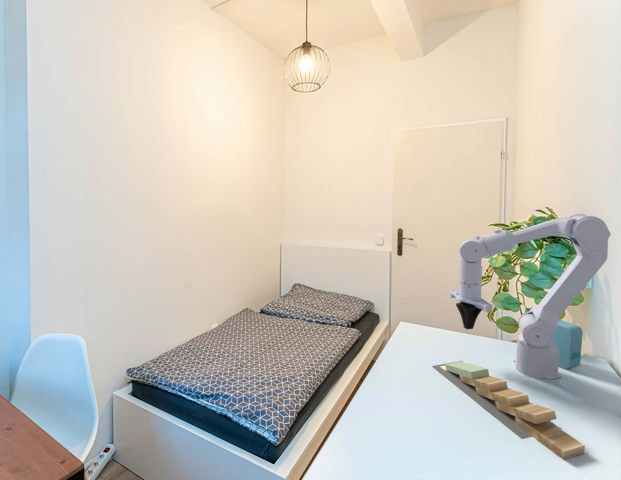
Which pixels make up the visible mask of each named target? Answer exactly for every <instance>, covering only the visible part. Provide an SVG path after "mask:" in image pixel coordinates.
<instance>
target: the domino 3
mask: <svg viewBox="0 0 621 480" xmlns="http://www.w3.org/2000/svg"><path fill="white" fill-rule="evenodd" d="M495 404H496V409H498V410H500V411H503V412H506V413H508V414H511V415H514V416H516V417H519V418H522V419H524V420H527V421H530V422H532V423H535V424H539V423H543V422H547V421H551V422H552V421H553V420H557V415H556V410H554V409H553V408H550V407H549V408H548V407H546V406H543V405H538V404H535V403H533V402H530V401H529V403H524V404H520V405H515V406H511V407H510V406H507V405H505V404H502V403H500V402H497V401H495Z"/></svg>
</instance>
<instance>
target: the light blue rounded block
mask: <svg viewBox="0 0 621 480" xmlns="http://www.w3.org/2000/svg"><path fill="white" fill-rule="evenodd" d="M552 342H553V343H554V344H555V345H556V346H557V348H558V350H559V367H558V368H561V369H563V370H570V369H572V368H576V367H579V366H580V365H581V360H582V359H581V358H582V357H581V356H582V343H583V330H582V327H580V325H578V324H575V323H571V322H568V321H565V320H561V319H559V320H558V325H557V328H556V330H555V331H554V332H553V337H552Z"/></svg>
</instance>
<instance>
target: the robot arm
mask: <svg viewBox="0 0 621 480" xmlns="http://www.w3.org/2000/svg"><path fill="white" fill-rule="evenodd" d="M551 236H554V237H559V238H560V237H561V238H565V239H569V240H570V241H571V242H572V243H573V247H574V249H575V253H576V257H574V259H573V260H572V261H571V263H570V264H569V265H568V267H566V269H565V270H564V271H563V273H562V274H561V275H560V277H559V278H558V279H557V280H556V282H555V283H554V284H553V286H552V287H551V288H550V289H549V291H548V292H547V293H546V294H545V296H544V297H543V298H542V299H541V300H540V302H539V303H538V304H537V305H534V306H532V307H531V308H530V310H528V311H527V312H525V313H523V314H521V315H520V316H519V318H518V320H517V325H518V326H517V327H518V328H519V329H520V331H521V332H520V334H519V335H518V336H517V338H516V340H517V341H516V342H517V343H516V360H515V369H516V370H517V372H519V373H521V374H522V375H524V376H527V377H530V378H535V379H546V378H548V379H550V380H555V379H560V378H562V375H561V374H559V368H560V367H559V350H558V348H557V346H556V345H555V344H554V343H553V342H552V337H553V332H554V331H555V330H556V328H557V325H558V320H560V317H561V316H562V315H563V314H564V312H566V310H567V309H568V307H570V305H571V304H572V303H573V302H574V301H575V299H576V298H577V297H578V296H579V295H580V293H581V292H582V290H584V288H585V287H586V286H587V284H589V283H590V281H591V280H593V277H594V276H595V275H596V274H597V273H598V271H599V270H600V269H601V268H602V267H603V266H604V264H606V261H607V260H608V257H609V256H608V253H609V239H610V236H611V232H610V230H609V228H608V225H607V223H605V221H604V220H603V219H602V218H600V217H598V216H593V215H591V216H590V215H586V214H581V213H580V214H578V213H577V214H572V215H570V216H563V217H562V216H561V217H556V218H553V219H549V220H547V221H544V222H541V223H538V224H535V225H531V226H528V227H525V228H522V229H519V230H516V231H513V232H510V231H508V230H506V229H502V230H500V228H497V229H495V230H493V232H492V233H489V234H486V235H482V236H480V235H477V236H474V237H475V239H472V238H470V239H466V240H464V241H463V242H462V243H461V245H460V247H459V255H460V260H459V264H460V265H459V267H458V269H459V272H458V273H459V275H458V277H459V278H458V290H456V289H454V290H450V291H449V298H452V299H455V301H457V303H456V302H455V303H456V304H455V306H456V308H457V310H458V312H459V315H460V316H461V322H462V324H463V325H462V326H463V329H466V330H473V329H474V327H475V324H476V321H477V319H478V317H479V315H480V313H481V312H482V311H483V312H484V313H492V312H493V304H492V303H489V302H488V301H486V300H485V299H484V298H482V285H483V284H482V281H483V277H482V276H483V267H482V259H483V258H484V257H486V258H488V257H492V256H495V255H499V254H502V253H506V252H511V251H513V250H514V248H515V246H516V245H518V244H522V243H525V242H530V241H534V240H540V239H544V238H548V237H551Z"/></svg>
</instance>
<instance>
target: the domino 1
mask: <svg viewBox="0 0 621 480" xmlns="http://www.w3.org/2000/svg"><path fill="white" fill-rule="evenodd" d="M459 376H460V381H461V382H464V383H467V384H470V385H472V386H475V387H478V388H481V389H484V390H486V391H489V392H491V391H496V390H501V389H506V388H509V387H508V381H507V380H505V379H502V378H498V377H495V376H493V375H492V376H491V375H489V376H485V377H479V378H474V379H471V378H468V377H465V376H462V375H459Z"/></svg>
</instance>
